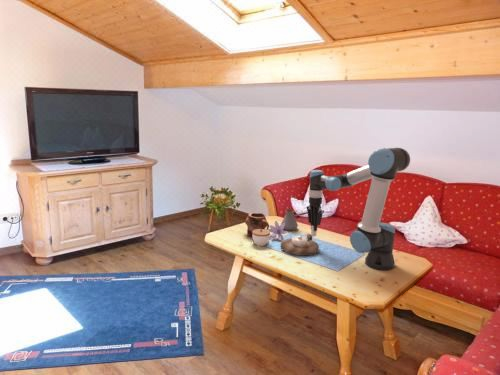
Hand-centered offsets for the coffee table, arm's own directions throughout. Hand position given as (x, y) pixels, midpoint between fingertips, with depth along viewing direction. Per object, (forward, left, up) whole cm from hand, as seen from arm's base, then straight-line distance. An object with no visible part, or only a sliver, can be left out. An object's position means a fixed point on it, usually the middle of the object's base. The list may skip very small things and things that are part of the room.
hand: (313, 235), depth 231 cm
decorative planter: (+28, +25, -8) cm, 38 cm away
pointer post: (+8, -2, -8) cm, 11 cm away
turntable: (0, +9, -8) cm, 12 cm away
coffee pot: (+32, -4, -8) cm, 33 cm away
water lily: (+20, +15, -8) cm, 26 cm away
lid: (0, +9, -5) cm, 10 cm away
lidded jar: (+14, +28, -8) cm, 32 cm away
